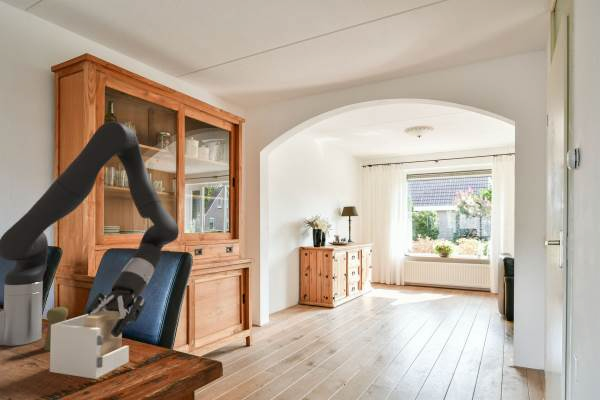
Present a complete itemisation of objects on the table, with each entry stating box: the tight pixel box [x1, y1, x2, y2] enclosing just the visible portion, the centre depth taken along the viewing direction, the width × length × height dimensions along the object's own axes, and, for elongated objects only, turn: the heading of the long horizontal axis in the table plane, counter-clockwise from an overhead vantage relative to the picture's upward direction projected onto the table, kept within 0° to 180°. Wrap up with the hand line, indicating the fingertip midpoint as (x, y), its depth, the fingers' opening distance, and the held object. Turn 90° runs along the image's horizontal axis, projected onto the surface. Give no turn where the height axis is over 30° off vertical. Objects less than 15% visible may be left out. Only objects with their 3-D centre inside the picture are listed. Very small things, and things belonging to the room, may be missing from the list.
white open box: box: [49, 313, 130, 380], centre depth 92 cm, size 10×15×11 cm
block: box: [85, 309, 123, 357], centre depth 92 cm, size 8×4×12 cm, turn 162°
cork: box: [43, 306, 69, 352], centre depth 107 cm, size 6×6×11 cm
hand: (99, 333), depth 91 cm, fingers open, 8 cm apart
